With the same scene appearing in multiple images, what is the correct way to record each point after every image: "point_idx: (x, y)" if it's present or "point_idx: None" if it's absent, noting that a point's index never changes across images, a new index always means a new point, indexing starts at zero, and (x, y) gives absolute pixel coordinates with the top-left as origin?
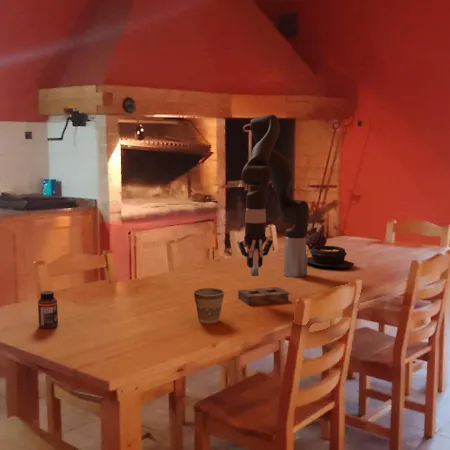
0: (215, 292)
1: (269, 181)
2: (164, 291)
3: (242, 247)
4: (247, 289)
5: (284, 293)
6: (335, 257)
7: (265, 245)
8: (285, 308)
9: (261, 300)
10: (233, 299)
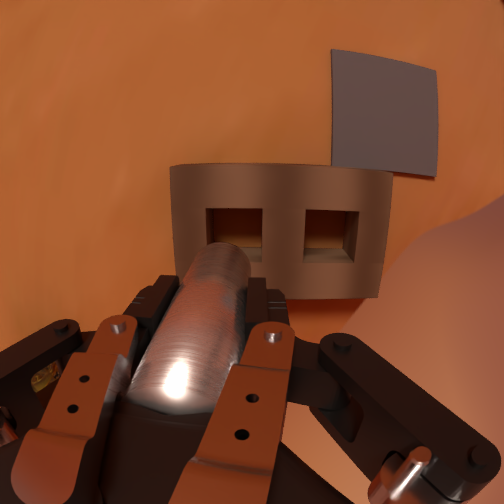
0: (33, 386)
1: None
2: (6, 25)
3: (16, 431)
4: (222, 165)
5: (360, 296)
6: None
7: (389, 428)
8: (311, 342)
9: None
10: (161, 159)
